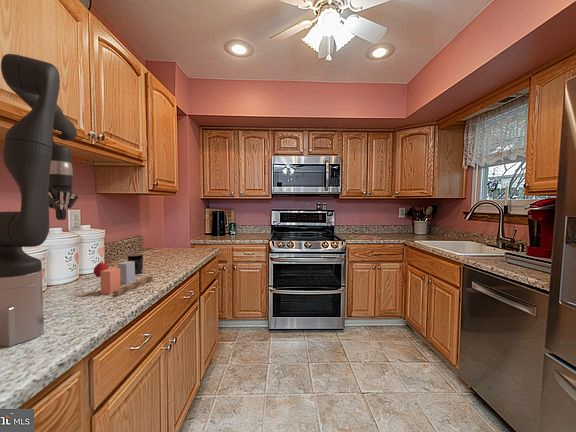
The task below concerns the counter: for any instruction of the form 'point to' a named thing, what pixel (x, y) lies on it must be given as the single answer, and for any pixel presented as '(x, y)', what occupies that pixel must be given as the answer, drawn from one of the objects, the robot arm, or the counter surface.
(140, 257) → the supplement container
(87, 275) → the counter surface
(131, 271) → the grey rectangular block
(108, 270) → the orange rectangular block
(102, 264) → the onion
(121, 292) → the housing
